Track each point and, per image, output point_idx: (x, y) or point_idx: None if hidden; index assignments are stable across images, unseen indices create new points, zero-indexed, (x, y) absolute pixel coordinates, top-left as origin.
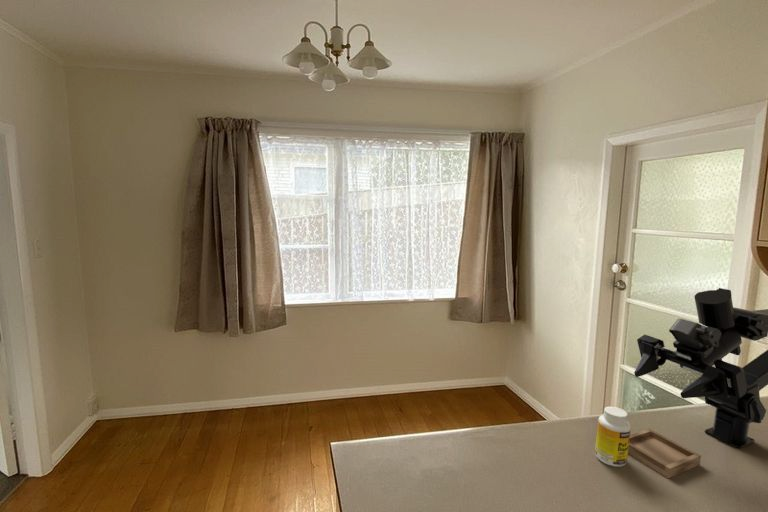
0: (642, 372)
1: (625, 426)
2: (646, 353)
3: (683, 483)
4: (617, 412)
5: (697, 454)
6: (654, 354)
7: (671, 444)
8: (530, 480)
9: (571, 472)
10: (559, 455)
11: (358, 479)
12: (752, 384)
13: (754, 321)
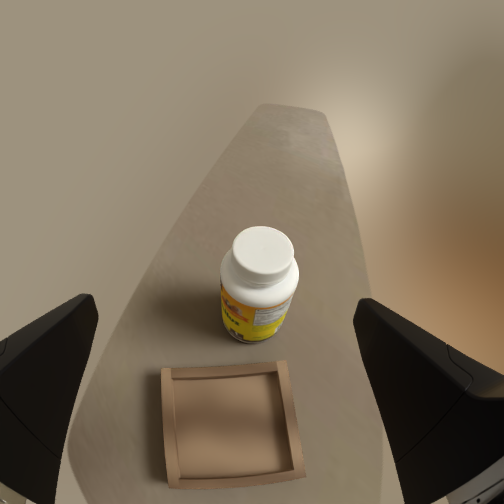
0: (370, 350)
1: (228, 267)
2: (498, 385)
3: (145, 387)
4: (257, 247)
5: (175, 486)
6: (485, 453)
7: (235, 477)
8: (245, 185)
9: None
10: None
11: (285, 109)
12: None
13: None
